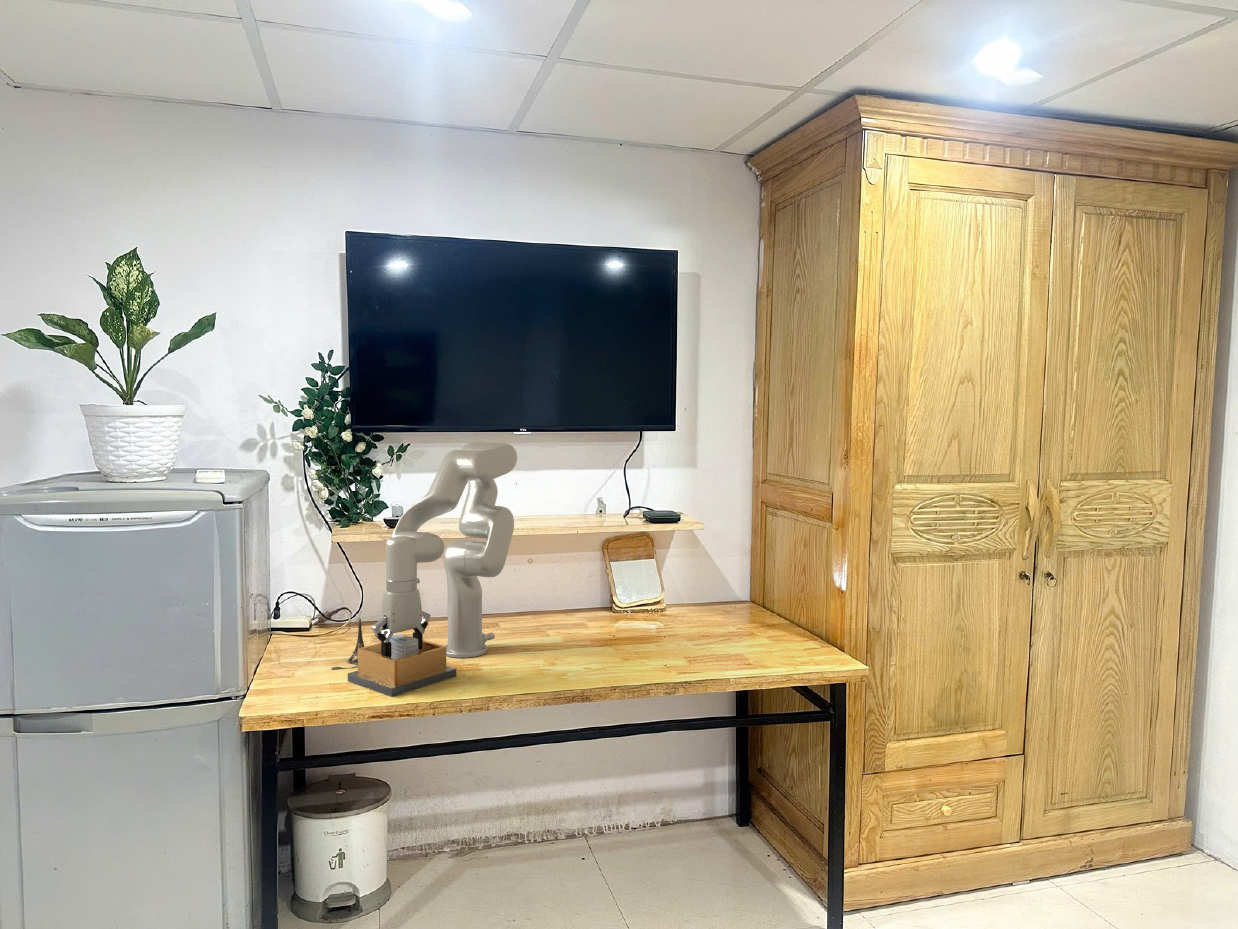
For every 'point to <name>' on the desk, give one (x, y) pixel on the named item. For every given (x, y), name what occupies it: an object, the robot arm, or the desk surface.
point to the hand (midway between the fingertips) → (402, 652)
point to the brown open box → (401, 669)
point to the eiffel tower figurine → (355, 652)
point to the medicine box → (403, 646)
